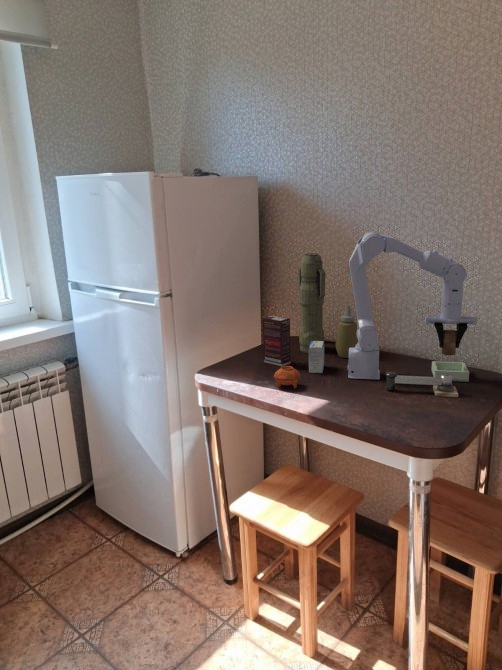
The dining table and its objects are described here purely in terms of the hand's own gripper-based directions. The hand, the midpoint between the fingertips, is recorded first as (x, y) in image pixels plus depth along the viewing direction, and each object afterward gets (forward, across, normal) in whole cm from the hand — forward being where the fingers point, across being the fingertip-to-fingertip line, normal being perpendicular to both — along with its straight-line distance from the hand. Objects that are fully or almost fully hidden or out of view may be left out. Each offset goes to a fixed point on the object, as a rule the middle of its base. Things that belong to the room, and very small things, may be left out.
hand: (448, 347), depth 162 cm
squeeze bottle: (+10, -31, +18) cm, 37 cm away
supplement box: (+10, -54, +6) cm, 55 cm away
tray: (+9, +1, +1) cm, 9 cm away
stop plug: (+2, 0, 0) cm, 2 cm away
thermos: (+10, -44, +24) cm, 51 cm away
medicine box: (+10, -40, +2) cm, 41 cm away
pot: (+10, -47, -16) cm, 51 cm away
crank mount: (+9, -7, -9) cm, 15 cm away
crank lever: (+9, -10, -14) cm, 19 cm away
